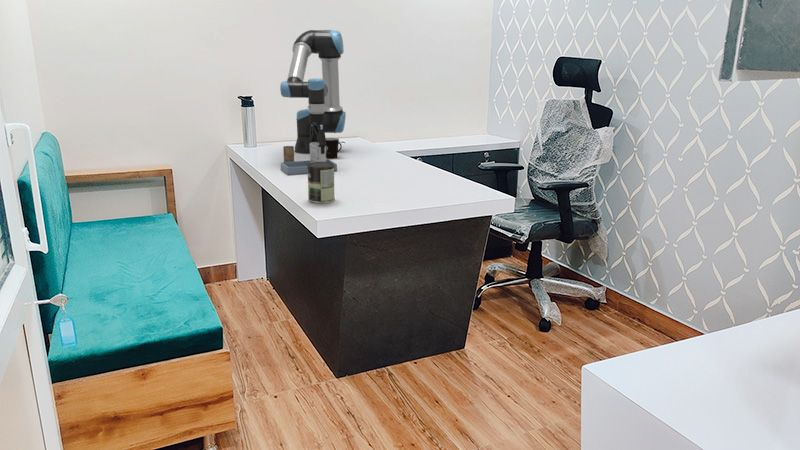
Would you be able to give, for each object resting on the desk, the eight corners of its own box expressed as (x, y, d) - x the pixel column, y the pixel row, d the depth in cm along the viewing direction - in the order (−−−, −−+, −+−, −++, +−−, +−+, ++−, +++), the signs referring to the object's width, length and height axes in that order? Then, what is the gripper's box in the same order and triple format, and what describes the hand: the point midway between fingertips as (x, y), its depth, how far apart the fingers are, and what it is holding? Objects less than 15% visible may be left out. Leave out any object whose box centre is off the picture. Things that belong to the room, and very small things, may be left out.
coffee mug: (320, 156, 317) (320, 138, 314) (336, 155, 320) (336, 137, 317) (327, 160, 307) (326, 141, 304) (343, 159, 310) (342, 140, 307)
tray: (280, 169, 284) (280, 162, 283) (328, 166, 294) (328, 159, 292) (287, 175, 272) (287, 167, 271) (336, 171, 282) (336, 164, 281)
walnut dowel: (283, 164, 297) (282, 146, 294) (293, 163, 299) (292, 145, 296) (285, 166, 293) (284, 147, 290) (295, 165, 295) (294, 147, 292)
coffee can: (307, 203, 226) (306, 167, 222) (309, 196, 236) (308, 161, 231) (334, 203, 227) (334, 167, 222) (335, 196, 236) (334, 161, 232)
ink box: (327, 169, 283) (326, 144, 279) (317, 170, 280) (316, 145, 276) (319, 166, 290) (318, 142, 286) (309, 167, 287) (308, 143, 283)
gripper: (302, 110, 286) (303, 153, 293) (316, 116, 265) (318, 163, 271) (317, 109, 289) (318, 153, 296) (332, 115, 267) (333, 162, 274)
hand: (318, 158), depth 283 cm, fingers open, 13 cm apart
